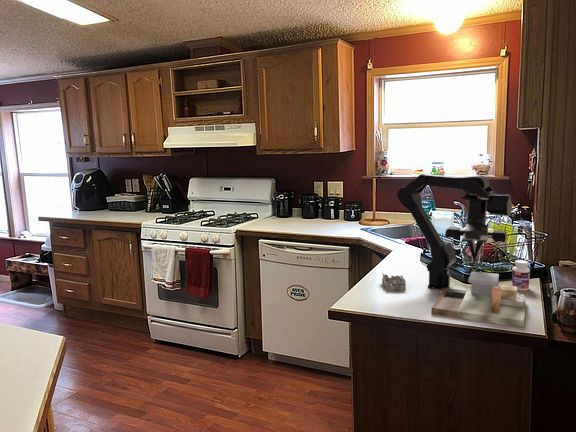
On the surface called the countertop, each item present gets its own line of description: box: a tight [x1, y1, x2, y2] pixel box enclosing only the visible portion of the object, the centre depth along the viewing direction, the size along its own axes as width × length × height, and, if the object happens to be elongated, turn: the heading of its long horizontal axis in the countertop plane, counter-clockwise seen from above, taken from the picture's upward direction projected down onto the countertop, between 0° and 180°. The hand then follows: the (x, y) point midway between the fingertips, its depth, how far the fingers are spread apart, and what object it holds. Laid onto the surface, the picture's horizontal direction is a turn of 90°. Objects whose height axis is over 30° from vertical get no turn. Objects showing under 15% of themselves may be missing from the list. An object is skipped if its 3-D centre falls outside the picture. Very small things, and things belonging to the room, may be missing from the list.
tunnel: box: [468, 271, 500, 296], centre depth 146 cm, size 8×9×7 cm
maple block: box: [500, 284, 518, 300], centre depth 143 cm, size 4×4×4 cm
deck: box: [430, 287, 527, 329], centre depth 143 cm, size 25×21×2 cm
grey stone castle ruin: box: [381, 272, 407, 292], centre depth 167 cm, size 11×8×4 cm
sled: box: [491, 286, 525, 312], centre depth 138 cm, size 8×15×7 cm, turn 152°
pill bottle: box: [511, 259, 531, 292], centre depth 161 cm, size 5×5×10 cm
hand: (474, 259), depth 156 cm, fingers closed
